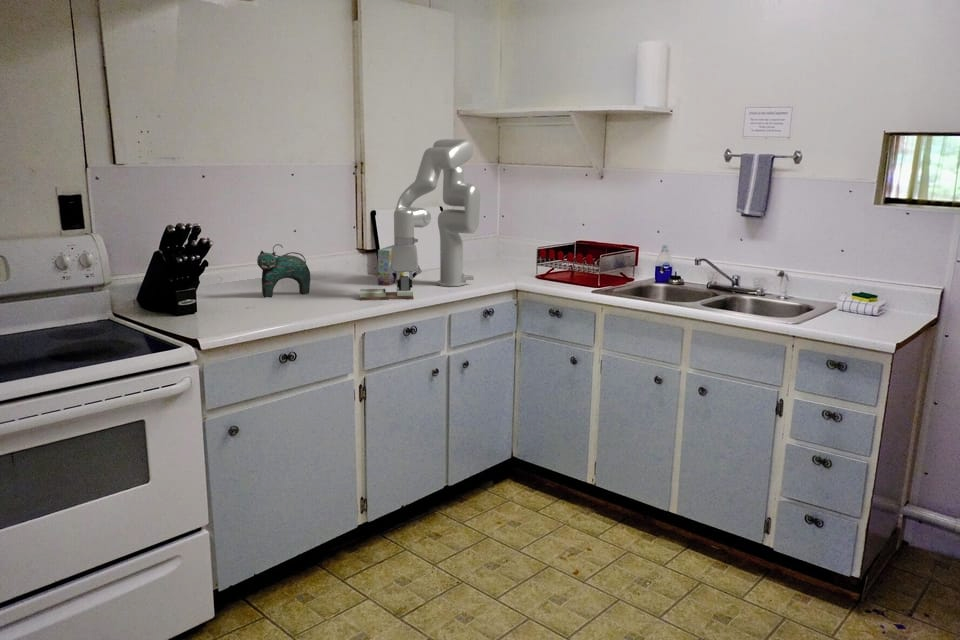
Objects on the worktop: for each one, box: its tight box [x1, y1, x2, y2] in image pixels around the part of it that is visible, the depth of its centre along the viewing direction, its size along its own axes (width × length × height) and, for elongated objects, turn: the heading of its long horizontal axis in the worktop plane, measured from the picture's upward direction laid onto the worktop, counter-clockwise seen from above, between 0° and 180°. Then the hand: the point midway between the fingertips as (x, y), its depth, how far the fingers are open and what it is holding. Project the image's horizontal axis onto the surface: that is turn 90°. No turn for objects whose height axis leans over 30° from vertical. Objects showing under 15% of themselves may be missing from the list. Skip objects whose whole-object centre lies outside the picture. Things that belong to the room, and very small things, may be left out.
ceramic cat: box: [256, 243, 311, 298], centre depth 280 cm, size 20×6×20 cm, turn 121°
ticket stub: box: [396, 275, 414, 297], centre depth 280 cm, size 6×9×6 cm, turn 8°
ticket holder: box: [359, 288, 414, 301], centre depth 280 cm, size 20×11×3 cm, turn 98°
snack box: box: [377, 245, 405, 286], centre depth 315 cm, size 21×6×15 cm, turn 168°
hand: (404, 289), depth 281 cm, fingers closed on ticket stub, 3 cm apart
